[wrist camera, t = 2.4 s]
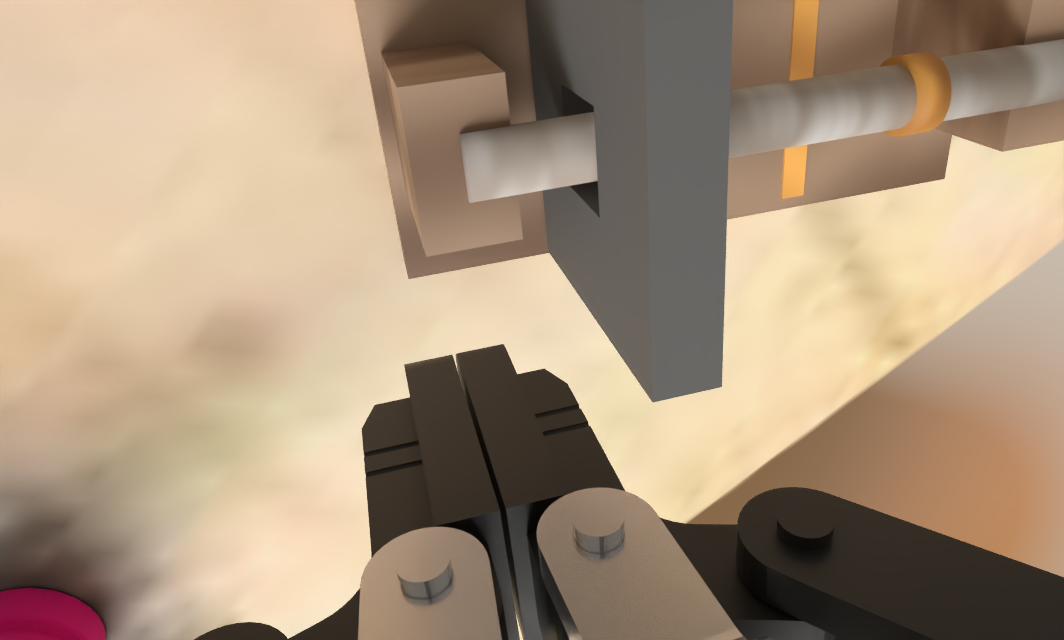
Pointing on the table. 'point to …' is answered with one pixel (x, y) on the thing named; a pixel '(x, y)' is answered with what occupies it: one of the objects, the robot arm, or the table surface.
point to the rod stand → (755, 109)
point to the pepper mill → (47, 616)
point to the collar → (644, 175)
